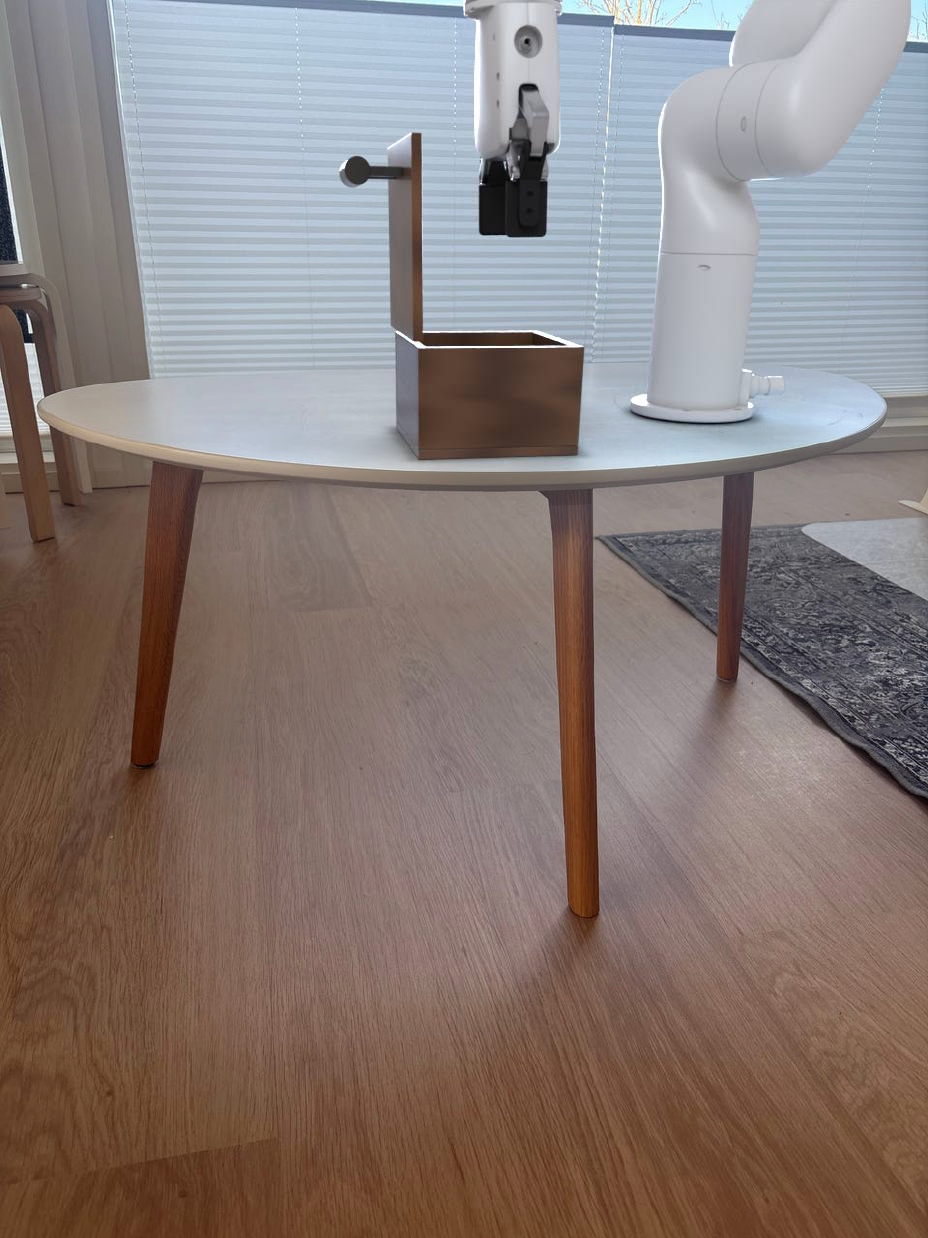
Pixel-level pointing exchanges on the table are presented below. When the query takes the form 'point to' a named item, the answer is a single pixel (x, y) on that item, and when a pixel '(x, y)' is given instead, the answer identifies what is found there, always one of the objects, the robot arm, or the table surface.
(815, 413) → the table surface
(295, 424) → the table surface
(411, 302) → the chest lid
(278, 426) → the table surface
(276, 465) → the table surface
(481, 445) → the chest
